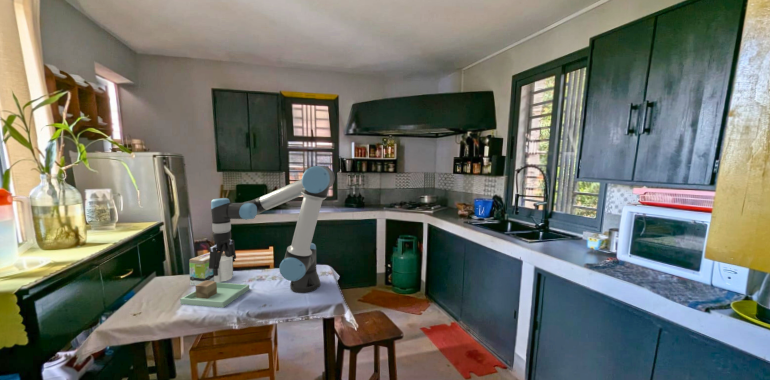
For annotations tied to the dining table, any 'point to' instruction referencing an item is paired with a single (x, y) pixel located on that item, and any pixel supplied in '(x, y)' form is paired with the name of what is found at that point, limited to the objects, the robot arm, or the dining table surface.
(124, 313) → the dining table surface
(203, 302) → the mint green serving tray
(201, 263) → the tea box
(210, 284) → the walnut block
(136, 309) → the dining table surface
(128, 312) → the dining table surface
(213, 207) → the robot arm
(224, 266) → the white cup
